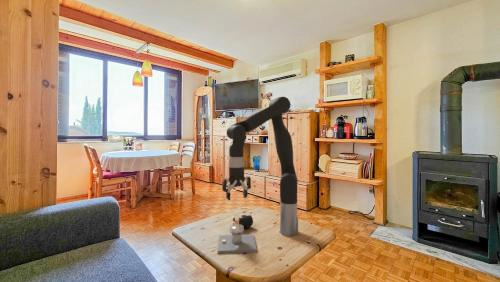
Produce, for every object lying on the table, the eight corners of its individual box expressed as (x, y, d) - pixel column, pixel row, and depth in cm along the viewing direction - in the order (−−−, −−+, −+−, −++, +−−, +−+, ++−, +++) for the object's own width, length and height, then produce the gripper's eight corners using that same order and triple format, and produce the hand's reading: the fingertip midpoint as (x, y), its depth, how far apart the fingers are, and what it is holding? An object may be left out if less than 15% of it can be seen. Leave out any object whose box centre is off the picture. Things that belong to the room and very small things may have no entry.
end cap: (239, 232, 125) (239, 220, 125) (232, 228, 130) (232, 217, 130) (253, 227, 131) (253, 216, 131) (245, 224, 137) (245, 213, 137)
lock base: (253, 236, 120) (253, 224, 120) (256, 251, 104) (256, 238, 104) (219, 237, 119) (219, 225, 119) (217, 253, 103) (217, 240, 103)
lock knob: (230, 228, 116) (230, 214, 115) (243, 227, 116) (243, 213, 116) (229, 236, 106) (229, 221, 106) (244, 236, 106) (244, 221, 106)
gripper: (246, 164, 117) (246, 195, 117) (220, 166, 110) (220, 198, 111) (252, 165, 110) (253, 198, 110) (225, 167, 104) (225, 202, 104)
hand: (237, 198), depth 110 cm, fingers open, 8 cm apart
